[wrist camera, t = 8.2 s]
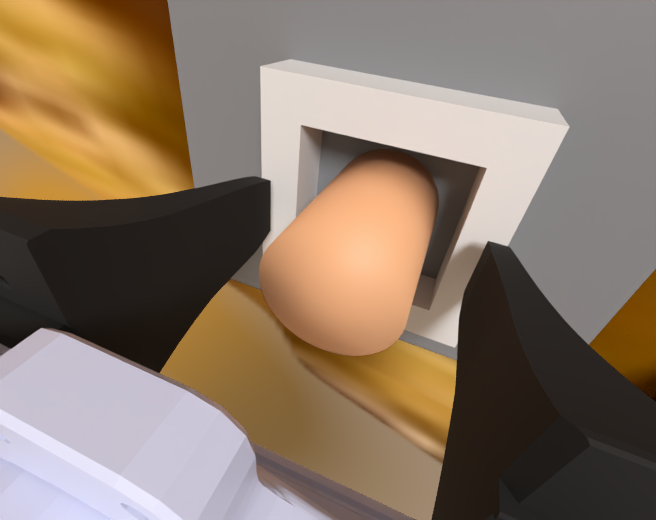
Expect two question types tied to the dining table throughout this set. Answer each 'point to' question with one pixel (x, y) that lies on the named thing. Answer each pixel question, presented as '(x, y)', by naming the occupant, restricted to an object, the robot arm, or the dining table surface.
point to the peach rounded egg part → (354, 255)
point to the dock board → (444, 130)
